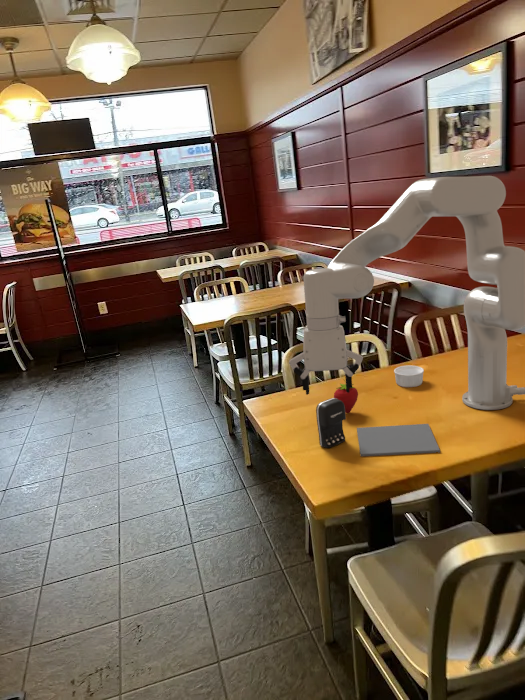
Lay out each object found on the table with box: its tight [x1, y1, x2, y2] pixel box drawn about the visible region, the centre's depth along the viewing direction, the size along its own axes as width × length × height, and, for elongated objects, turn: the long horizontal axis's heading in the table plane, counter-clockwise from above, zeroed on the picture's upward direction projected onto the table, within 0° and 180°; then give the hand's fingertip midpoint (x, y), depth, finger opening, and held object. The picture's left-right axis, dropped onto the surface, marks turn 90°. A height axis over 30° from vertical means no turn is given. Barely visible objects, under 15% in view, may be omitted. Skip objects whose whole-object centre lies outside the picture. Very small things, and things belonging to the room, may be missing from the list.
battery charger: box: [315, 397, 347, 449], centre depth 128 cm, size 7×4×11 cm, turn 123°
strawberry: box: [333, 379, 359, 414], centre depth 144 cm, size 6×8×10 cm
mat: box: [356, 423, 441, 457], centre depth 127 cm, size 18×14×1 cm
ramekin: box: [393, 364, 425, 388], centre depth 161 cm, size 9×9×4 cm
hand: (327, 391), depth 125 cm, fingers open, 9 cm apart
